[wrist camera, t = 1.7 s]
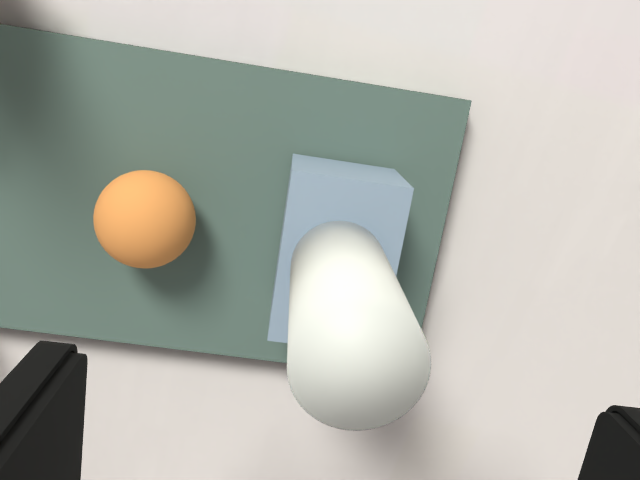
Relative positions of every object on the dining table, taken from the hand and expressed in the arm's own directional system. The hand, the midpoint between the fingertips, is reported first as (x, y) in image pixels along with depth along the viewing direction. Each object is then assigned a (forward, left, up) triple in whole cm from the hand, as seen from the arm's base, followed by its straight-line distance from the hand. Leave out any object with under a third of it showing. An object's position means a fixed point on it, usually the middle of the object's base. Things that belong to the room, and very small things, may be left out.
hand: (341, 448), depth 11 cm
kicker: (-1, 0, -14) cm, 14 cm away
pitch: (+5, 0, -15) cm, 16 cm away
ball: (+6, 0, -12) cm, 14 cm away
